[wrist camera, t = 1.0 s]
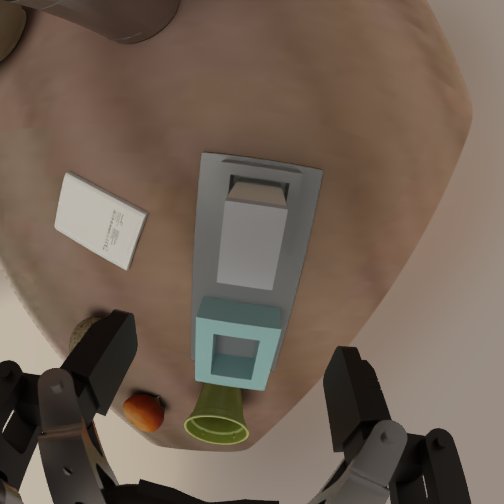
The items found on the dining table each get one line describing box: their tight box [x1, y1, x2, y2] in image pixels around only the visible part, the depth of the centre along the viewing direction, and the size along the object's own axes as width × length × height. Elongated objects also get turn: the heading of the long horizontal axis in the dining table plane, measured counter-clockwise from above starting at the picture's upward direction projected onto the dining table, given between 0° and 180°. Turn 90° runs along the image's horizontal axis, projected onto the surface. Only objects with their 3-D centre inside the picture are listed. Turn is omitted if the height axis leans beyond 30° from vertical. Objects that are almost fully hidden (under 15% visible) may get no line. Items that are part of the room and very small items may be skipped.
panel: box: [191, 152, 323, 391], centre depth 30 cm, size 28×12×5 cm, turn 172°
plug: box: [217, 177, 288, 290], centre depth 23 cm, size 6×4×10 cm, turn 172°
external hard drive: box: [55, 171, 148, 271], centre depth 30 cm, size 2×8×12 cm
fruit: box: [123, 394, 165, 432], centre depth 42 cm, size 8×8×8 cm
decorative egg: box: [69, 317, 102, 354], centre depth 32 cm, size 7×7×10 cm
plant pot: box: [184, 383, 249, 444], centre depth 37 cm, size 9×9×9 cm
